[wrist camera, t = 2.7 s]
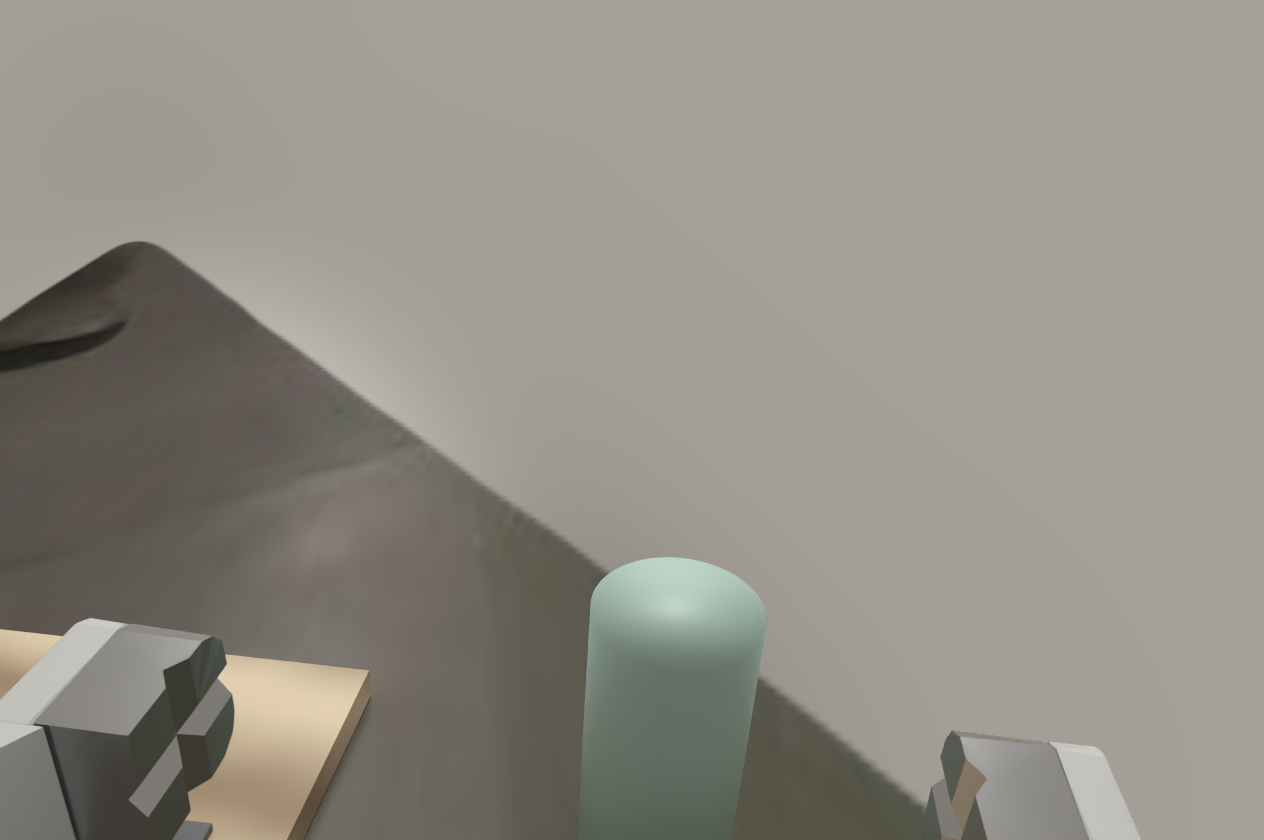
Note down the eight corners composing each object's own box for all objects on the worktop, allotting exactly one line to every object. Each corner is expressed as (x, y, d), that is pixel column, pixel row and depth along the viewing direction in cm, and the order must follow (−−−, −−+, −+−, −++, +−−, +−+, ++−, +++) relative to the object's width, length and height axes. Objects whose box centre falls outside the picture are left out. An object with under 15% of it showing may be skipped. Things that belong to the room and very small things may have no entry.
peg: (719, 974, 27) (770, 679, 22) (563, 955, 28) (579, 658, 23) (720, 842, 31) (763, 566, 26) (584, 826, 32) (601, 549, 27)
